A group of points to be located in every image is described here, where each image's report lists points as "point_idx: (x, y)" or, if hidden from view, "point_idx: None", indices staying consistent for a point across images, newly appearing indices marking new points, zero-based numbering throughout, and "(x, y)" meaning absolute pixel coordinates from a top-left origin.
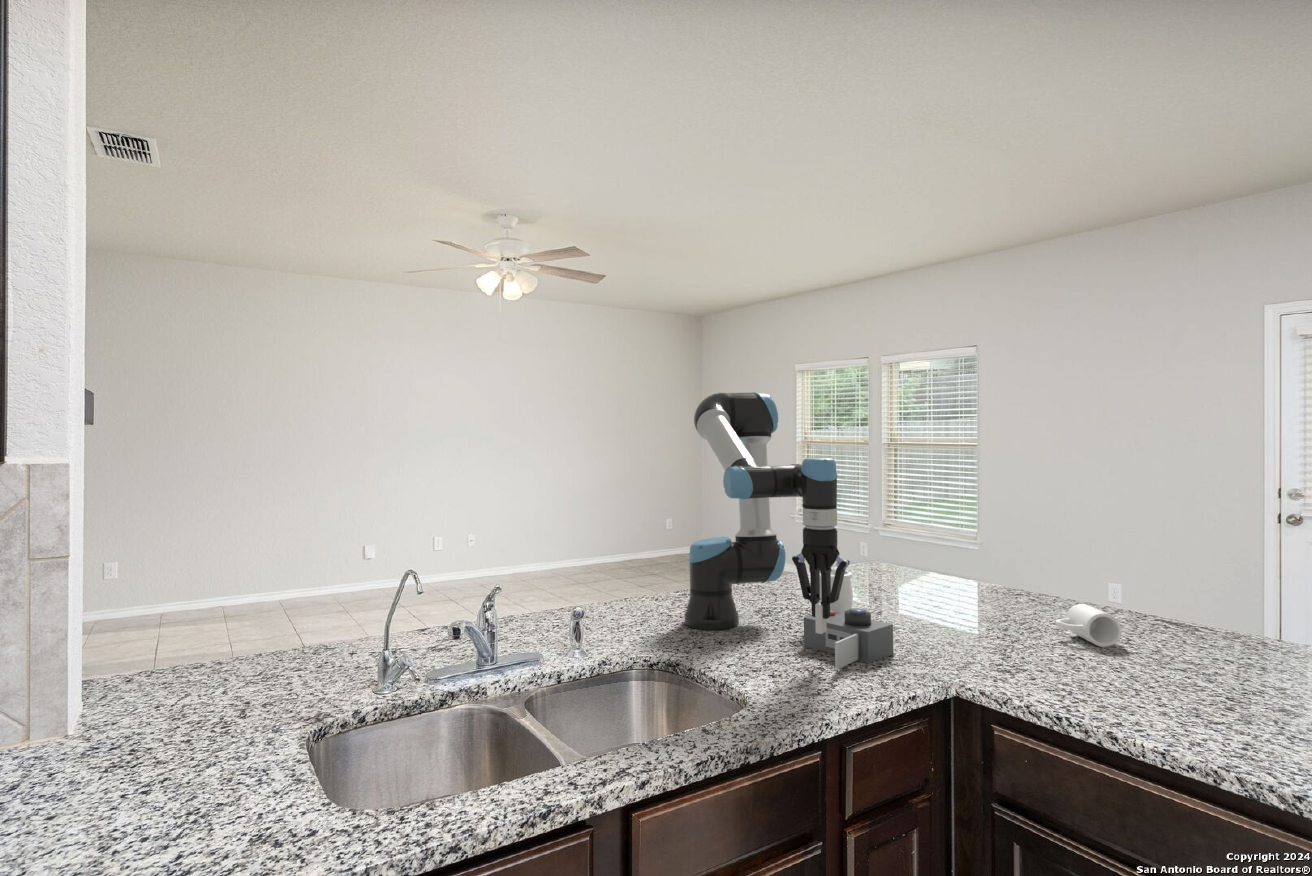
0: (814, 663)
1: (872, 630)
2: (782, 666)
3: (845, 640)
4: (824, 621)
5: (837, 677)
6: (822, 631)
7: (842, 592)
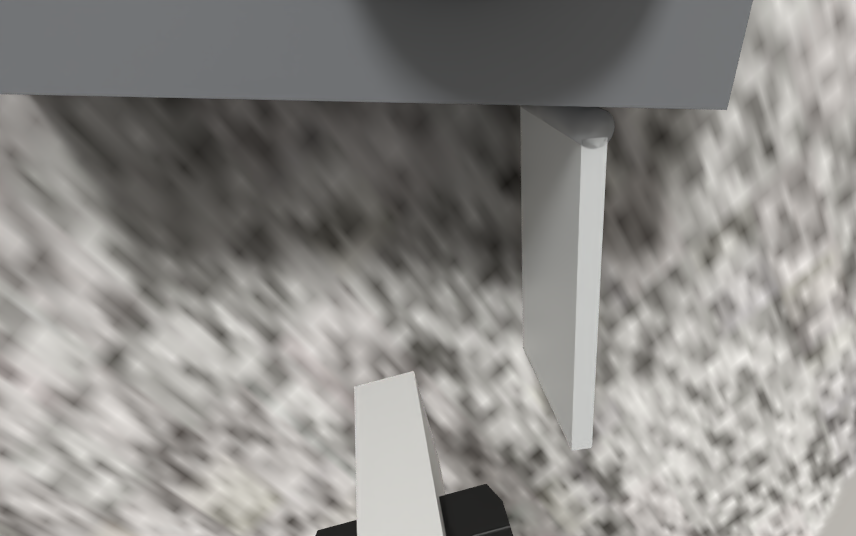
0: (351, 318)
1: (746, 13)
2: (269, 467)
3: (593, 338)
4: (438, 480)
5: None
6: (436, 454)
7: None
